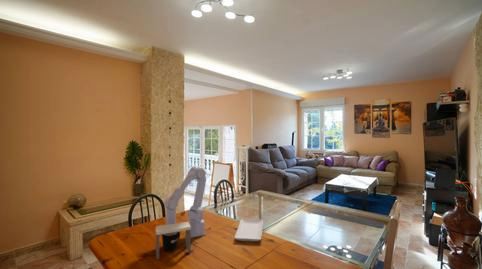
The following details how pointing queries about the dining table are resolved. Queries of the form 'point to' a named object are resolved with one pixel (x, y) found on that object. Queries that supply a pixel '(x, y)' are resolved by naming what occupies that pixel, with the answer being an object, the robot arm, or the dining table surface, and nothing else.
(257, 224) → the tray
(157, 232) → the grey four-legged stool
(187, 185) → the robot arm
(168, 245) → the mug
